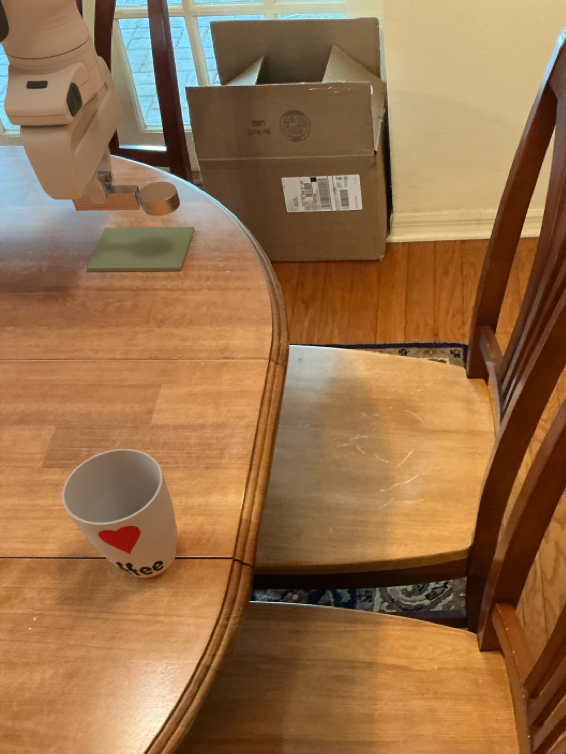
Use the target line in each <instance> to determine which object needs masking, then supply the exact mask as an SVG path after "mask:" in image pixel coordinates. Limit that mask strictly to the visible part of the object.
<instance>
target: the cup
mask: <svg viewBox="0 0 566 754" xmlns="http://www.w3.org/2000/svg"><path fill="white" fill-rule="evenodd" d="M61 501H62V506H63V508H64V510H65V511H66V512H67V513H68V515H69V516H70V518H71V519H72V520H73V522H74V523H75V524H76V526H77V527H78V529H79V530H80V531H81V532H82V533H83V535H84V536H85V538H86V539H87V540H88V542H89V543H90V544H91V545H92V546H93V547H94V548H95V549H96V550H97V551H98V552H99V553H100V554H101V555H102V556H103V557H104V558H106V560H107V561H108V562H110V564H113V565H114V566H115V567H116V568H118V569H120V570H122V571H123V572H125V573H126V574H128V575H129V576H131V577H134V578H137V579H150V578H153V577H156V576H159V575H160V574H162V573H164V572H165V571H166V570H168V569H169V568H170V567H171V566H172V565H173V563H174V561H175V560H176V556H177V547H178V527H177V521H176V516H175V509H174V504H173V500H172V498H171V494H170V492H169V488H168V485H167V483H166V479H165V477H164V474H163V470H162V467H161V466H160V464H159V462H158V461H157V460H156V459H155V458H154V457H153V456H151V454H149V453H146V452H144V451H141V450H139V449H132V448H116V449H111V450H106V451H102V452H99V453H97V454H94V455H93V456H91V457H89V458H87V459H86V460H84V461H82V462H81V463H80V464H79V465H77V466H76V467H75V468H74V469H73V470H72V471H71V472H70V473H69V475H68V477H67V478H66V480H65V482H64V484H63V486H62V490H61Z"/></svg>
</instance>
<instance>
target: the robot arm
mask: <svg viewBox="0 0 566 754" xmlns="http://www.w3.org/2000/svg"><path fill="white" fill-rule="evenodd" d="M0 45H1V46H2V49H3V51H4V54H5V57H6V59H7V60H8V66H7V76H8V77H7V88H6V92H5V97H4V101H3V102H4V103H3V107H4V108H3V109H4V112H5V115H6V117H7V119H8V121H9V123H10V124H11V125H12V126H19V136H20V141H21V143H22V147H23V149H24V152H25V154H26V156H27V159H28V162H29V163H30V165H31V167H32V170H33V172H34V174H35V176H36V178H37V180H38V182H39V184H40V186H41V188H42V190H43V191H44V193H45V194H46V195H48V197H50V198H51V199H53V200H56V201H58V200H60V201H61V200H62V201H63V200H64V201H66V200H67V201H70V200H71V201H72V199H80V198H81V197H82V196H83V194H84V192H85V190H87V193H88V195H89V198H90V200H91V202H92V203H94V204H104V203H105V202H106V199H107V197H108V192H107V190H106V186H114V185H115V183H116V179H115V175H114V173H113V169H112V160H111V159H112V158H111V150H110V147H109V144H110V143H111V140H112V138H113V137H114V134H115V133H116V131H117V128H118V126H119V124H120V123H121V121H122V119H123V116H124V113H123V103H122V100H121V97H120V95H119V92H118V89H117V86H116V84H115V81H114V79H113V76H112V74H111V71H110V69H109V67H108V65H107V63H106V60H104V58H103V57H102V56H100V55H98V53H97V50H96V47H95V44H94V41H93V38H92V36H91V32H90V29H89V27H88V24H87V23H86V21H85V20H84V19H83V16H82V15H81V13H80V11H79V9H78V5H77V1H76V0H0Z"/></svg>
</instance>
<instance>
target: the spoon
mask: <svg viewBox="0 0 566 754" xmlns="http://www.w3.org/2000/svg"><path fill="white" fill-rule="evenodd" d="M106 190H107V192H108V197H107V199H106V202H105V203H104V204H94V203H92V202H91V200H90V198H89V195H88V193H87V190H85V192H84V194H83V196H82V197H81V198H80V199H71V201H72V204H73V206H74V208H75V211H76V212H89V211H139V210H141V208H142V210H143V212H144V213H145V214H147V215H148V216H152V217H162V216H166V215H169V214H171V213H174V212H176V211H177V210H178V209H179V208H180V206H181V199H180V196H179V193H178V189H177V186H175V184H173V183H171V182H169V181H155V182H151V183H148V184H146V185H144V186H142V187H141V188H139V185H138V184H127V185H126V184H123V185H122V184H121V185H117V184H116V185H115V184H114V185H113V186H106Z"/></svg>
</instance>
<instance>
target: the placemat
mask: <svg viewBox="0 0 566 754" xmlns="http://www.w3.org/2000/svg"><path fill="white" fill-rule="evenodd" d="M195 230H196V229H195V226H143V227H142V226H140V227H138V226H137V227H130V226H129V227H104V229H103V231H102V234H101V236H100V237H99V240H98V242H97V244H96V246H95V249H94V251H93V253H92V254H91V255H92V256H91V258H90V260H89V261H88V264H87V266H86V271H87V272H181V271H182V269H183V266H184V264H185V260H186V257H187V254H188V252H189V249H190V246H191V242H192V240H193V237H194V234H195Z"/></svg>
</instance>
